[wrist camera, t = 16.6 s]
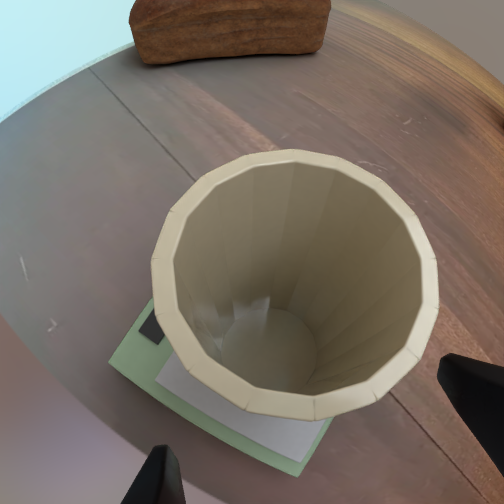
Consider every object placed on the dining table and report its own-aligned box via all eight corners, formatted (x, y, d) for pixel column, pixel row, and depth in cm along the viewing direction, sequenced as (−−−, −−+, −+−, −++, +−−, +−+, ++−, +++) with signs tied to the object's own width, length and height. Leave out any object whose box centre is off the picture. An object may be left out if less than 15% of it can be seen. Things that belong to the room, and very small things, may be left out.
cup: (339, 338, 18) (462, 228, 7) (284, 427, 16) (360, 473, 4) (253, 286, 20) (259, 119, 9) (193, 368, 18) (94, 296, 6)
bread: (333, 63, 38) (346, -10, 27) (133, 78, 36) (115, 3, 25) (307, 28, 44) (313, -30, 34) (145, 41, 42) (134, -19, 32)
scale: (371, 322, 22) (385, 312, 19) (293, 471, 17) (299, 480, 14) (208, 237, 25) (204, 219, 22) (118, 366, 20) (103, 360, 18)
